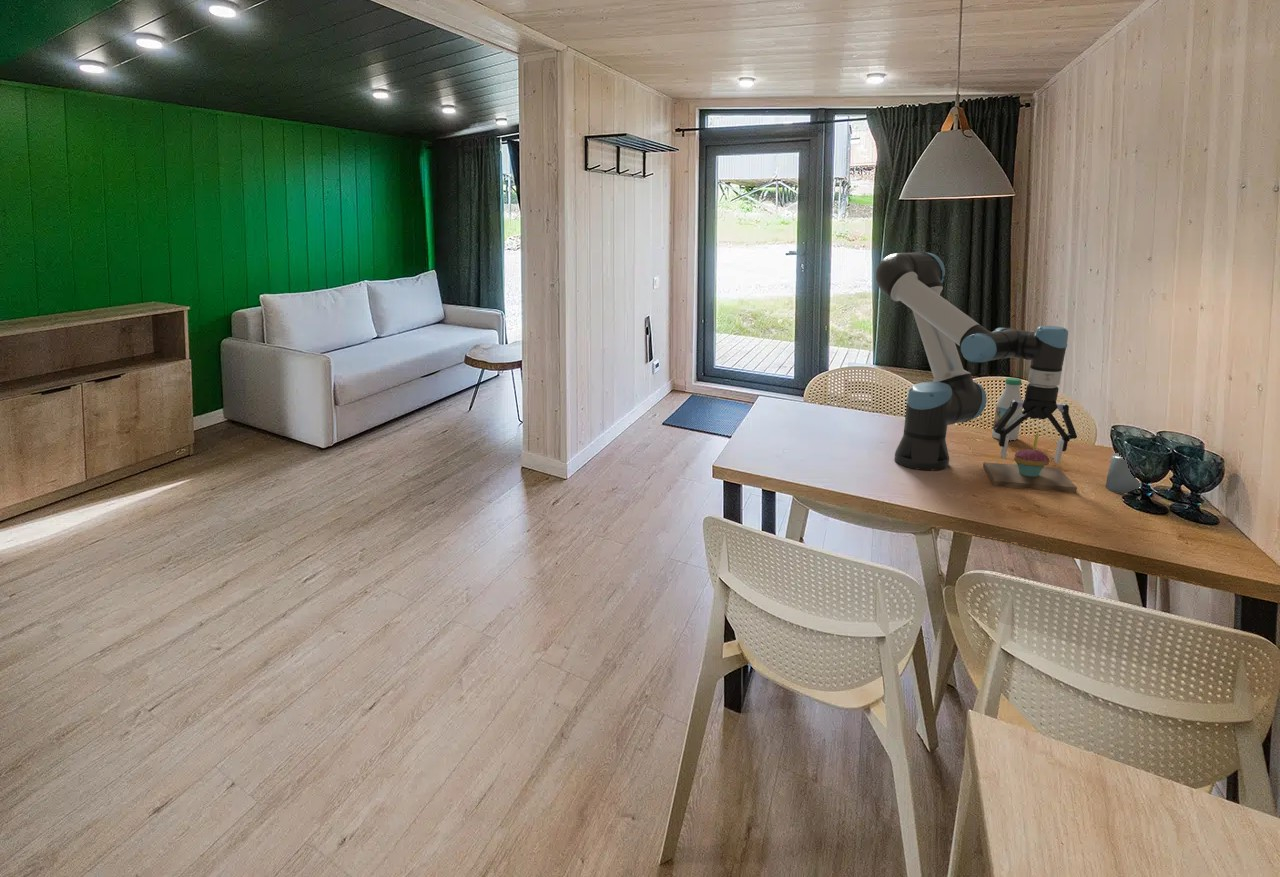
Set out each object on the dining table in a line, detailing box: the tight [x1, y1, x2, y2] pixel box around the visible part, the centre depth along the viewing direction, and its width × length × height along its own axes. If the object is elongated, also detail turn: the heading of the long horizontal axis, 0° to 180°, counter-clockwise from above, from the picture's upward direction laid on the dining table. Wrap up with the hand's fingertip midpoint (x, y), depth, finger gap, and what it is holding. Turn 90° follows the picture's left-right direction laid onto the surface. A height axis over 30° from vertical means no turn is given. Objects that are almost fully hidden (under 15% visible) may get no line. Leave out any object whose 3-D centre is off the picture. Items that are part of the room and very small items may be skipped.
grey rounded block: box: [1105, 452, 1140, 495], centre depth 192 cm, size 8×8×9 cm
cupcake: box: [1013, 431, 1050, 477], centre depth 198 cm, size 9×8×12 cm
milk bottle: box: [991, 377, 1023, 442], centre depth 235 cm, size 8×8×20 cm
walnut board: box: [982, 461, 1078, 494], centre depth 200 cm, size 20×16×2 cm
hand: (1029, 459), depth 199 cm, fingers open, 13 cm apart
